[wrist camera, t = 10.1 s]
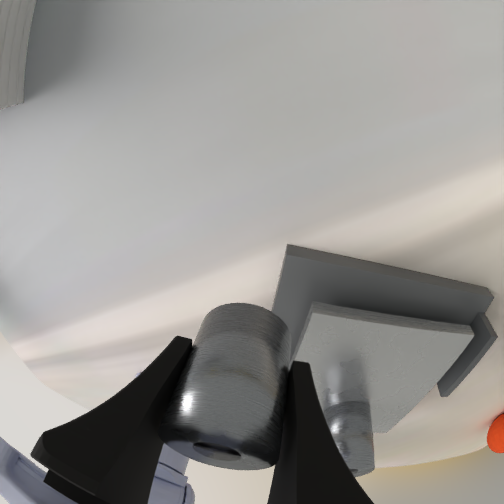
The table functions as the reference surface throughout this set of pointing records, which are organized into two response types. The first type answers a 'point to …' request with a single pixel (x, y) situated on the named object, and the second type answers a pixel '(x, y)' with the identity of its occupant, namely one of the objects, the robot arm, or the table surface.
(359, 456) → the spacer
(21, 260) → the table surface
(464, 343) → the pan
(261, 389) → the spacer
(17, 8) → the light grey rectangular block
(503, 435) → the clementine
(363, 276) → the scale
